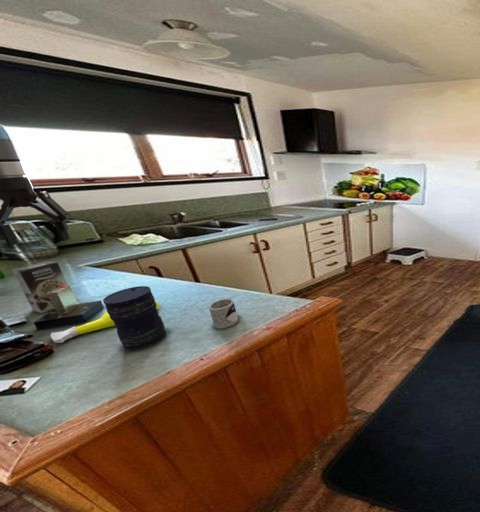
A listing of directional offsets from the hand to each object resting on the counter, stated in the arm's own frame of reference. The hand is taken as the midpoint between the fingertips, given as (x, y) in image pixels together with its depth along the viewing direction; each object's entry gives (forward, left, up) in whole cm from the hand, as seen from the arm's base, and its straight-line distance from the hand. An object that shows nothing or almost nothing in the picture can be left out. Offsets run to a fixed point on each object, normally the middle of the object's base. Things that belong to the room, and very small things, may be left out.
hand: (40, 242), depth 91 cm
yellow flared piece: (+21, -20, -25) cm, 38 cm away
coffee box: (-6, +2, -25) cm, 26 cm away
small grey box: (+7, -12, -22) cm, 25 cm away
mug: (+58, -33, -25) cm, 71 cm away
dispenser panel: (+7, -12, -25) cm, 28 cm away
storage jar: (+37, -36, -25) cm, 57 cm away
